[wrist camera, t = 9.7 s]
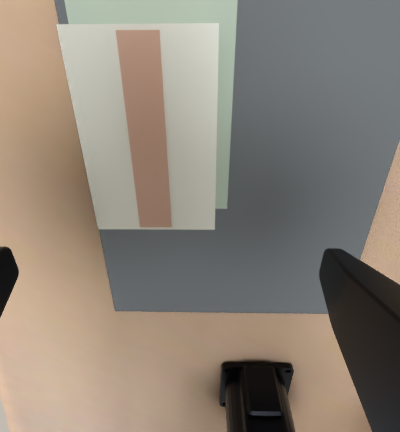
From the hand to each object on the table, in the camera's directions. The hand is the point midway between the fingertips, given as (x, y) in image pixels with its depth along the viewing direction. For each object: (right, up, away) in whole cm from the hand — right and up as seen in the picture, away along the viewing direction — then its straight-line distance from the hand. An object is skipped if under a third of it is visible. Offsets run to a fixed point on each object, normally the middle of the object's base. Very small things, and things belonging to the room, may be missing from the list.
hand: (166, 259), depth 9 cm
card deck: (-1, +6, +8) cm, 11 cm away
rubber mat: (+3, +3, +11) cm, 12 cm away
